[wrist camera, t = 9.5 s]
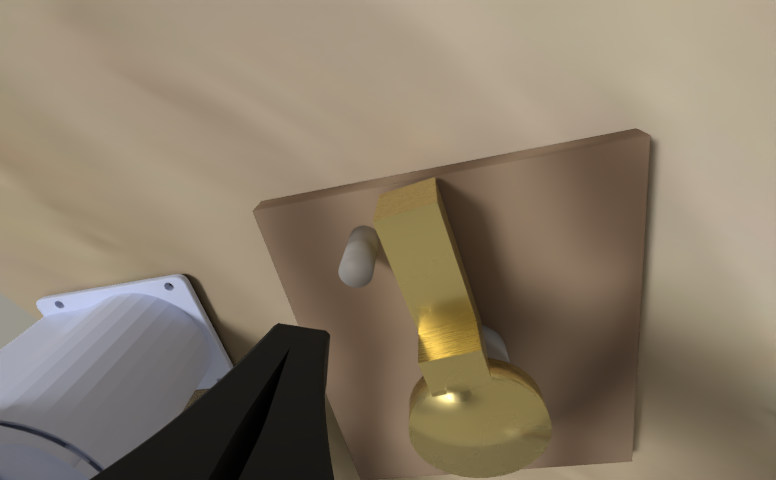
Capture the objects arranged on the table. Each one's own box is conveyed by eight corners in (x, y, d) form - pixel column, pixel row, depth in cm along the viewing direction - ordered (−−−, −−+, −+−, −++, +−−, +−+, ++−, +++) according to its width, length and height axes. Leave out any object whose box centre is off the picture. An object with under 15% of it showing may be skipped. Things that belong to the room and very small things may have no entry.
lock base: (363, 463, 29) (353, 532, 25) (261, 201, 20) (222, 243, 16) (623, 443, 26) (658, 517, 22) (636, 128, 17) (698, 158, 13)
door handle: (537, 385, 22) (563, 466, 18) (430, 406, 24) (432, 485, 19) (476, 163, 17) (493, 207, 13) (342, 206, 18) (319, 258, 14)
